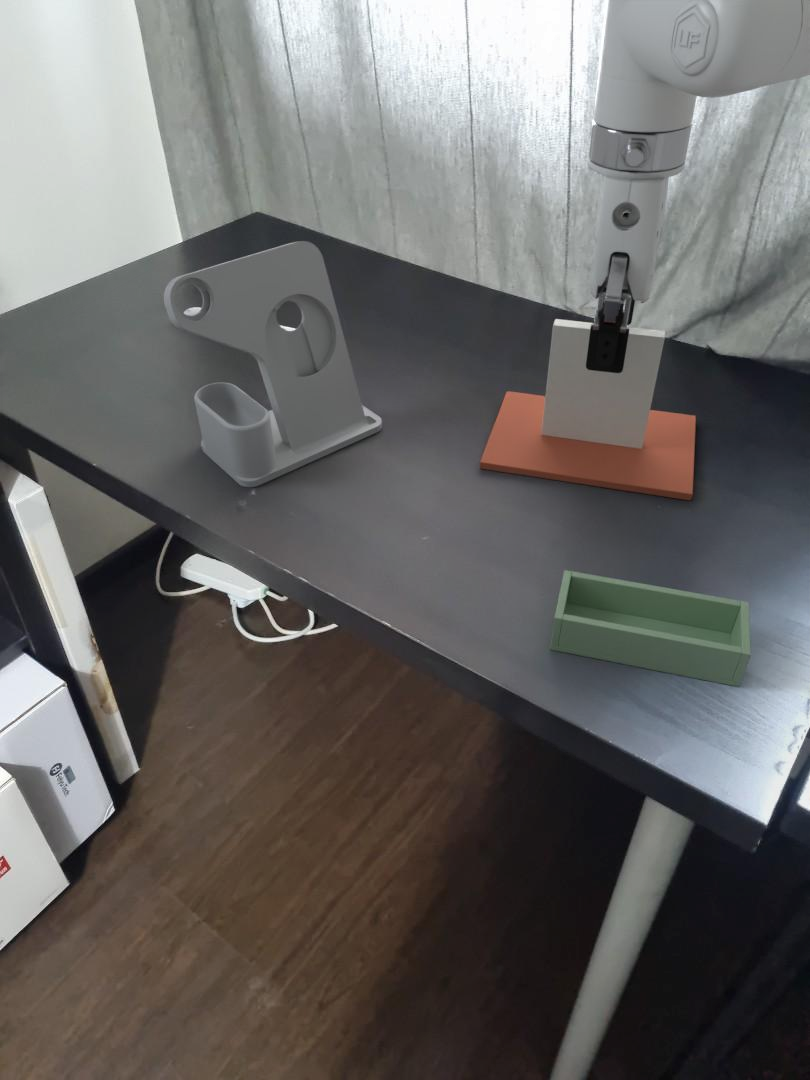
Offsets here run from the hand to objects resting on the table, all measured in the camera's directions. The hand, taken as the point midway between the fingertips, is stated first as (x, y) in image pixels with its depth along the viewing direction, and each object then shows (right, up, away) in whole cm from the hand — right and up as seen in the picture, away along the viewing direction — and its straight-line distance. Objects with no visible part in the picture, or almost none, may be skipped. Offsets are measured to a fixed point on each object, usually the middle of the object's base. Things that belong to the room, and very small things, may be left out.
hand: (609, 345), depth 76 cm
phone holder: (-31, -7, +10) cm, 33 cm away
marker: (-39, +8, +28) cm, 49 cm away
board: (0, -8, +7) cm, 10 cm away
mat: (0, -8, +8) cm, 11 cm away
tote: (-1, -26, -13) cm, 29 cm away
